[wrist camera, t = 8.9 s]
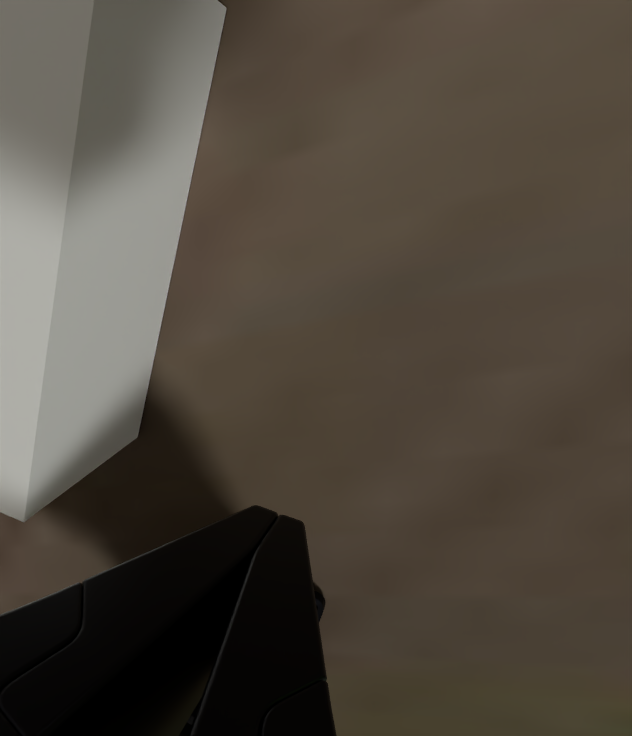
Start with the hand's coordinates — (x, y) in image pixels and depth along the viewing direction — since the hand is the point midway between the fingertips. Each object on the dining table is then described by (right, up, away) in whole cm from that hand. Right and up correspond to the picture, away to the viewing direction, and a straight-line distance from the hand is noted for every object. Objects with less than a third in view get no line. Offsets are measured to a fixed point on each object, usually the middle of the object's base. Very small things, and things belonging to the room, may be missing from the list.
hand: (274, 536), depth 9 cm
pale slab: (-9, +9, +14) cm, 19 cm away
